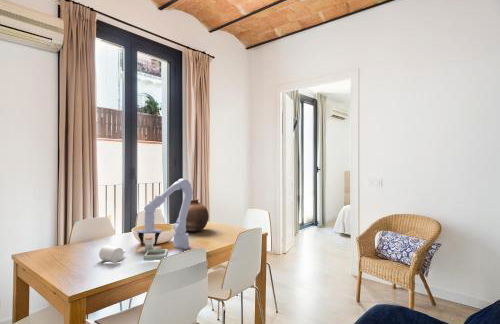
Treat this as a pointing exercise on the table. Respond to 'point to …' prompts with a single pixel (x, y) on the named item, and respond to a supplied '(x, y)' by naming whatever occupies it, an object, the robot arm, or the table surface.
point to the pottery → (196, 216)
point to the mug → (111, 253)
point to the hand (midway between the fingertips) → (149, 245)
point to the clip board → (147, 248)
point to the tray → (155, 255)
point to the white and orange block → (149, 241)
